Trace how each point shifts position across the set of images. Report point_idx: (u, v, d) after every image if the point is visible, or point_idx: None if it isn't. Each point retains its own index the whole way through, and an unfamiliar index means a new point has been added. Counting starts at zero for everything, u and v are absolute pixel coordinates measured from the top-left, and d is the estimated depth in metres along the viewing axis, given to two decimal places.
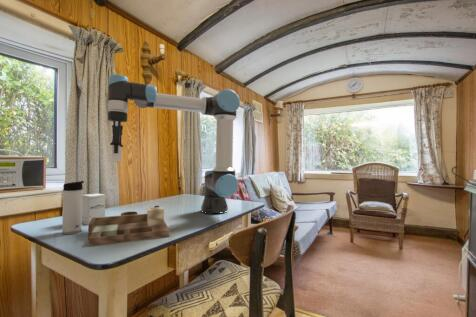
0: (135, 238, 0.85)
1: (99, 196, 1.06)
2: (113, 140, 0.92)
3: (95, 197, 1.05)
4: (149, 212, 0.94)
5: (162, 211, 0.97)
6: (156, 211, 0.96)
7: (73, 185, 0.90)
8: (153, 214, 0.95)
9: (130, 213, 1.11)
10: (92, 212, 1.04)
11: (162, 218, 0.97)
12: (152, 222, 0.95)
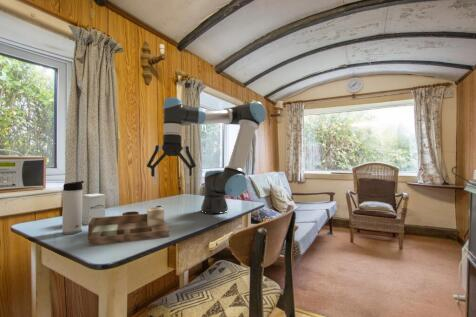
0: (135, 238, 0.85)
1: (99, 196, 1.06)
2: None
3: (95, 197, 1.05)
4: (149, 212, 0.94)
5: (162, 211, 0.97)
6: (156, 211, 0.96)
7: (73, 185, 0.90)
8: (153, 214, 0.95)
9: (132, 213, 1.11)
10: (92, 212, 1.04)
11: (162, 218, 0.97)
12: (152, 222, 0.95)
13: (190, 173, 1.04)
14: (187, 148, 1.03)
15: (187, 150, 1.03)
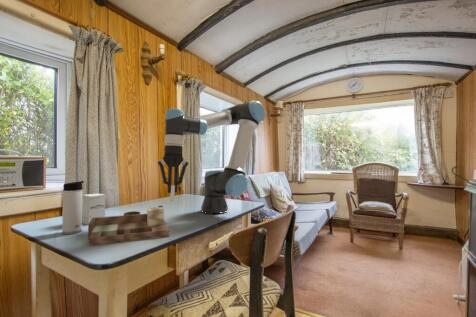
0: (135, 238, 0.85)
1: (99, 196, 1.06)
2: (163, 181, 1.00)
3: (95, 197, 1.05)
4: (149, 212, 0.94)
5: (162, 211, 0.97)
6: (156, 211, 0.96)
7: (73, 185, 0.90)
8: (153, 214, 0.95)
9: (133, 213, 1.11)
10: (92, 212, 1.04)
11: (162, 218, 0.97)
12: (152, 222, 0.95)
13: (176, 190, 1.01)
14: (186, 164, 1.02)
15: (185, 165, 1.02)
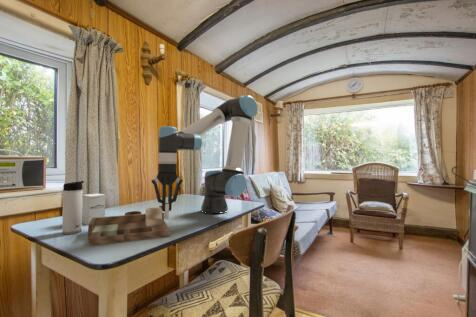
0: (135, 238, 0.85)
1: (99, 196, 1.06)
2: (157, 200, 0.99)
3: (95, 197, 1.05)
4: (147, 212, 0.94)
5: (160, 211, 0.96)
6: (154, 211, 0.95)
7: (73, 185, 0.90)
8: (151, 214, 0.95)
9: (134, 213, 1.12)
10: (92, 212, 1.04)
11: (160, 218, 0.96)
12: (150, 222, 0.95)
13: (170, 208, 1.00)
14: (180, 181, 1.01)
15: (179, 183, 1.01)
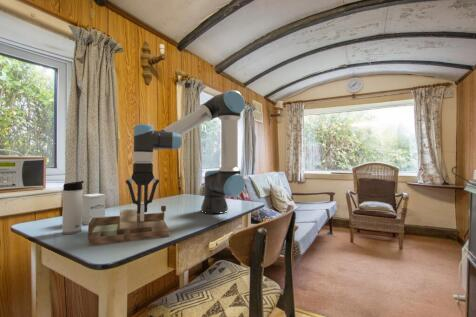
0: (135, 238, 0.85)
1: (99, 196, 1.06)
2: None
3: (95, 197, 1.05)
4: (121, 214, 0.90)
5: (135, 213, 0.92)
6: (128, 213, 0.91)
7: (73, 185, 0.90)
8: (125, 216, 0.91)
9: None
10: (92, 212, 1.04)
11: (135, 220, 0.92)
12: (123, 224, 0.90)
13: (146, 209, 0.96)
14: (157, 182, 0.97)
15: (155, 183, 0.97)
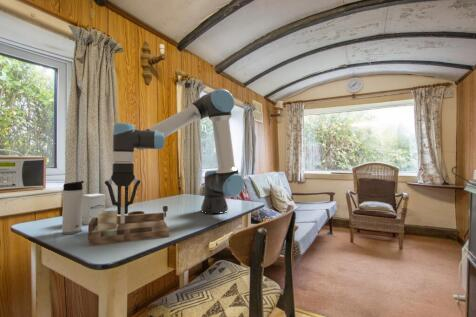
0: (135, 238, 0.85)
1: (99, 196, 1.06)
2: None
3: (95, 197, 1.05)
4: (99, 216, 0.87)
5: (114, 215, 0.89)
6: (107, 215, 0.88)
7: (73, 185, 0.90)
8: (104, 218, 0.88)
9: (138, 213, 1.12)
10: (92, 212, 1.04)
11: (114, 222, 0.89)
12: (102, 226, 0.88)
13: (126, 211, 0.93)
14: (138, 182, 0.94)
15: (136, 184, 0.94)
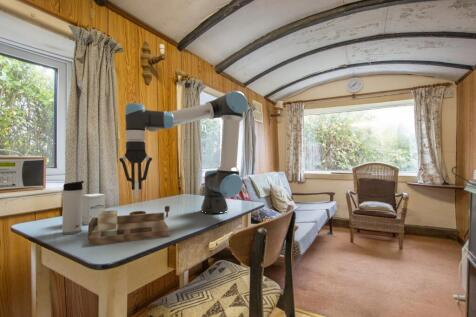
0: (135, 238, 0.85)
1: (99, 196, 1.06)
2: None
3: (95, 197, 1.05)
4: (99, 216, 0.87)
5: (114, 215, 0.89)
6: (107, 215, 0.88)
7: (73, 185, 0.90)
8: (104, 218, 0.88)
9: (140, 212, 1.12)
10: (92, 212, 1.04)
11: (114, 222, 0.89)
12: (102, 226, 0.88)
13: (140, 186, 0.99)
14: (150, 159, 1.00)
15: (148, 161, 1.00)
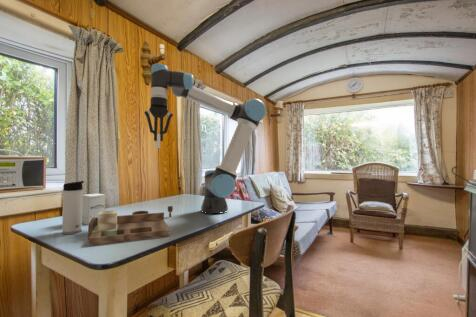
0: (135, 238, 0.85)
1: (99, 196, 1.06)
2: (150, 131, 1.11)
3: (95, 197, 1.05)
4: (99, 216, 0.87)
5: (114, 215, 0.89)
6: (107, 215, 0.88)
7: (73, 185, 0.90)
8: (104, 218, 0.88)
9: (143, 212, 1.13)
10: (92, 212, 1.04)
11: (114, 222, 0.89)
12: (102, 226, 0.88)
13: (161, 138, 1.11)
14: (171, 115, 1.13)
15: (169, 116, 1.12)
